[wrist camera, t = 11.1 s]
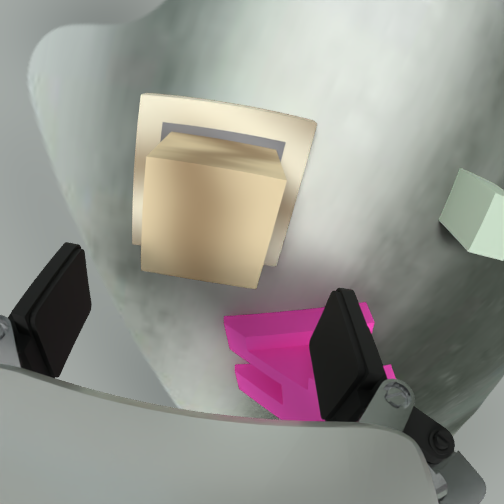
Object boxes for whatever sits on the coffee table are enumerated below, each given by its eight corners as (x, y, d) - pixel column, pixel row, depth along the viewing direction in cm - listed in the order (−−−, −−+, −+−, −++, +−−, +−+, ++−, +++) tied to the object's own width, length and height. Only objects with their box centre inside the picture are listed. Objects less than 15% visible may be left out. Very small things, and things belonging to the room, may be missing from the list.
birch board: (274, 258, 23) (276, 267, 22) (136, 236, 21) (131, 244, 20) (313, 120, 17) (317, 123, 16) (146, 92, 16) (140, 94, 15)
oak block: (276, 149, 17) (287, 180, 13) (253, 238, 20) (256, 289, 16) (171, 131, 16) (146, 156, 12) (161, 223, 20) (141, 270, 16)
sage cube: (473, 230, 22) (502, 260, 18) (437, 219, 21) (467, 251, 17) (494, 183, 19) (528, 209, 16) (459, 167, 19) (495, 192, 15)
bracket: (365, 301, 26) (404, 403, 17) (350, 370, 31) (371, 454, 23) (224, 315, 26) (218, 427, 17) (239, 382, 32) (239, 471, 23)
